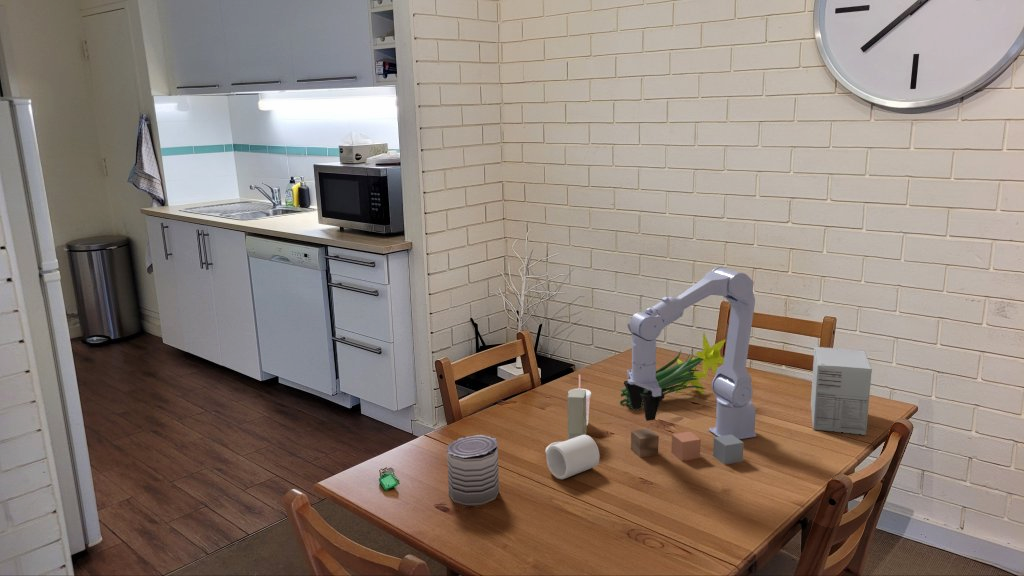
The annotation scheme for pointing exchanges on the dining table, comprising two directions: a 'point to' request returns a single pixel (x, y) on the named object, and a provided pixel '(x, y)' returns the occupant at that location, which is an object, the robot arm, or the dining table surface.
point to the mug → (572, 456)
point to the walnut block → (644, 442)
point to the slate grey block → (728, 449)
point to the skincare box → (576, 413)
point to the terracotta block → (686, 446)
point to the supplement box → (840, 390)
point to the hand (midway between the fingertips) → (643, 414)
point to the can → (473, 470)
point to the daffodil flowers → (685, 371)
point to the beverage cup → (586, 400)
